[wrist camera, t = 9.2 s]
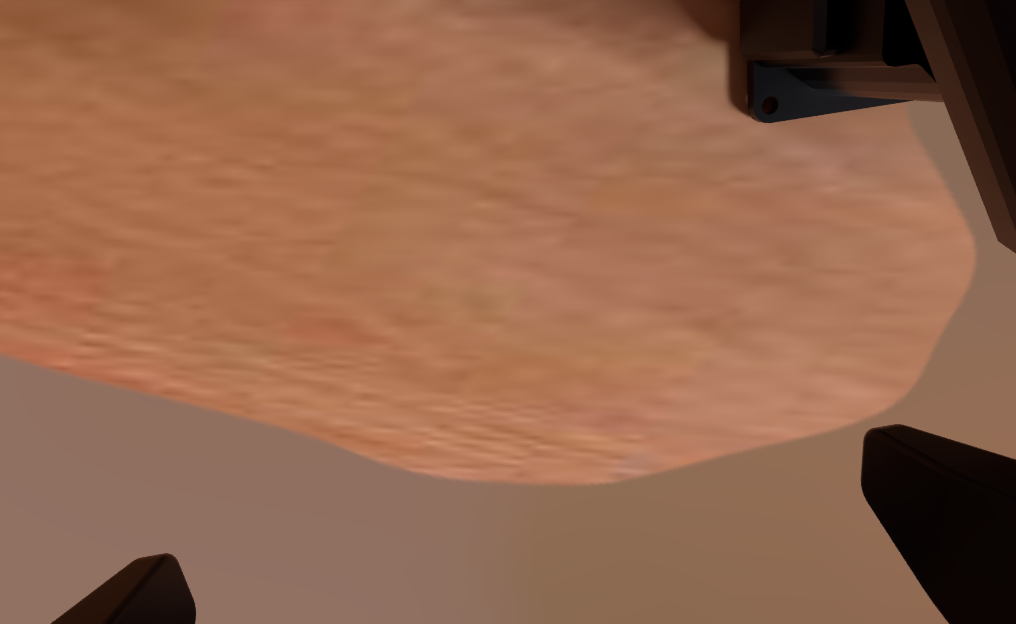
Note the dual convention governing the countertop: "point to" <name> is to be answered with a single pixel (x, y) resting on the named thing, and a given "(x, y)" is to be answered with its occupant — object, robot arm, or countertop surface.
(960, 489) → the robot arm
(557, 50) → the countertop surface
